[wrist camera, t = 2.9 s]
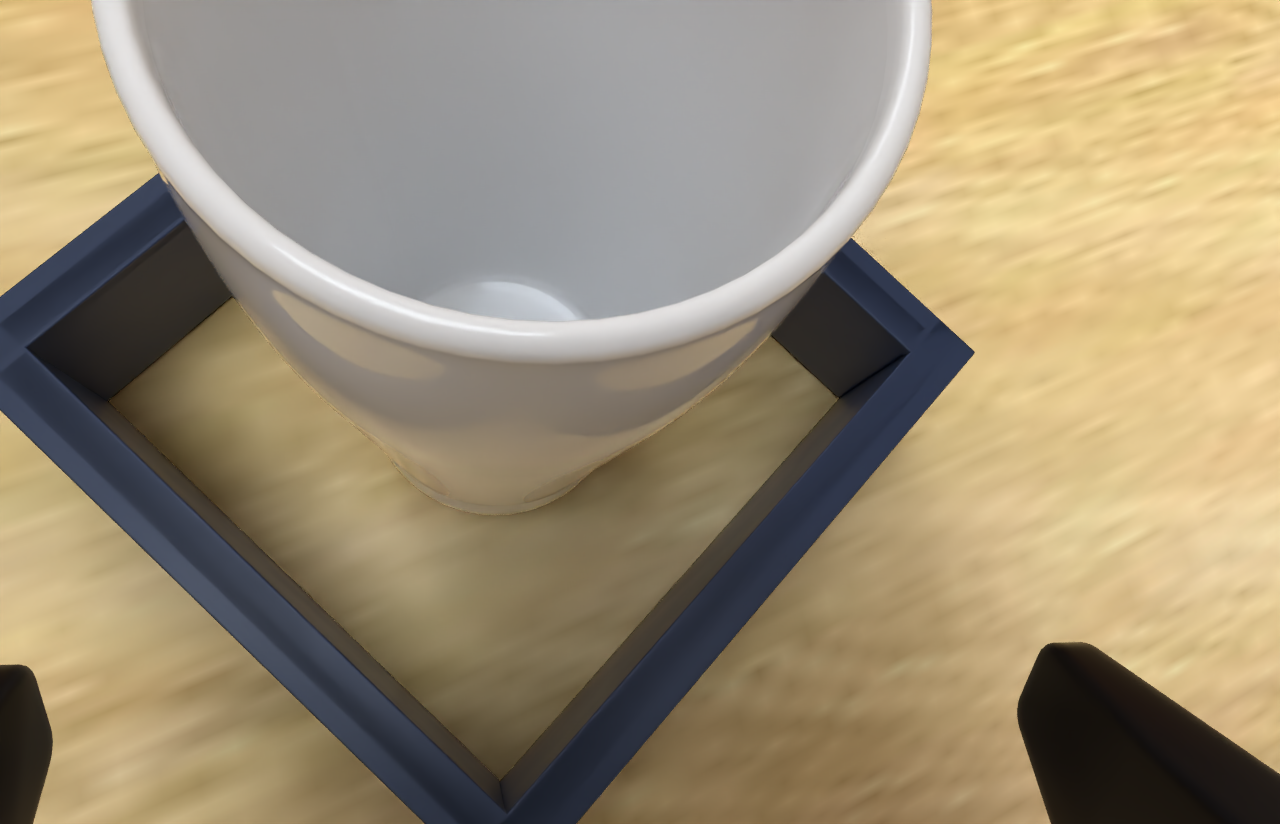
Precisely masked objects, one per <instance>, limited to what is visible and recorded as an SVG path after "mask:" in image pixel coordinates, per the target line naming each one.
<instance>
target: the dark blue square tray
mask: <svg viewBox="0 0 1280 824" xmlns="http://www.w3.org/2000/svg"><path fill="white" fill-rule="evenodd" d="M231 296H232V295H231V293H230V292H229V290H228V289H227V287H226V286H225V284H224V283H223V281H222V280H221V278H220V277H219V275H218V274H217V272H216V270H215V269H214V267H213V266H212V264H211V263H210V261H209V259H208V258H207V256H206V255H205V253H204V252H203V250H202V248H201V247H200V245H199V243H198V242H197V240H196V239H195V237H194V235H193V234H192V232H191V230H190V229H189V227H188V225H187V223H186V222H185V220H184V218H183V216H182V215H181V213H180V211H179V209H178V208H177V206H176V204H175V202H174V200H173V198H172V197H171V195H170V193H169V191H168V189H167V187H166V185H165V183H164V181H163V180H162V178H161V176H160V174H159V173H158V174H157V175H155V176H154V177H153V178H152V179H150V180H149V181H148V182H146V183H145V184H144V185H143V186H141V187H140V188H139V189H138V190H136V191H135V192H134V193H132V194H131V195H130V196H129V197H127V198H126V199H125V200H123V201H122V202H121V203H120V204H118V205H117V206H116V207H115V208H113V209H112V210H111V211H109V212H108V213H107V214H106V215H104V216H103V217H102V218H100V219H99V220H98V221H97V222H95V223H94V224H93V225H91V226H90V227H89V228H88V229H86V230H85V231H84V232H83V233H81V234H80V235H79V236H77V237H76V238H75V239H74V240H72V241H71V242H70V243H68V244H67V245H66V246H65V247H63V248H62V249H61V250H59V251H58V252H57V253H56V254H54V255H53V256H52V257H51V258H49V259H48V260H47V261H45V262H44V263H43V264H42V265H40V266H39V267H38V268H36V269H35V270H34V271H33V272H31V273H30V274H29V275H27V276H26V277H25V278H24V279H22V280H21V281H20V282H19V283H17V284H16V285H15V286H13V287H12V288H11V289H10V290H8V291H7V292H6V293H4V294H3V295H2V296H1V297H0V410H1V411H2V412H3V413H4V414H5V415H6V416H7V417H8V418H9V419H10V420H11V421H12V422H13V423H14V424H15V425H16V426H17V427H18V428H19V429H20V430H21V431H22V432H23V433H24V434H25V435H26V436H27V437H28V438H29V439H30V440H31V441H32V442H33V443H34V444H35V445H36V446H38V447H39V448H40V449H41V450H42V451H43V452H44V453H45V454H46V455H47V456H48V457H49V458H50V459H51V460H52V461H53V462H54V463H55V464H56V465H57V466H58V467H59V468H60V469H61V470H62V471H63V472H64V473H65V474H66V475H67V476H68V477H69V478H70V479H71V480H72V481H73V482H74V483H76V484H77V485H78V486H79V487H80V488H81V489H82V490H83V491H84V492H85V493H86V494H87V495H88V496H89V497H90V498H91V499H92V500H93V501H94V502H95V503H96V504H97V505H98V506H99V507H100V508H101V509H102V510H103V511H104V512H105V513H106V514H107V515H108V516H109V517H110V518H111V519H113V520H114V521H115V522H116V523H117V524H118V525H119V526H120V527H121V528H122V529H123V530H124V531H125V532H126V533H127V534H128V535H129V536H130V537H131V538H132V539H133V540H134V541H135V542H136V543H137V544H138V545H139V546H140V547H141V548H142V549H143V550H144V551H145V552H146V553H147V554H148V555H149V556H151V557H152V558H153V559H154V560H155V561H156V562H157V563H158V564H159V565H160V566H161V567H162V568H163V569H164V570H165V571H166V572H167V573H168V574H169V575H170V576H171V577H172V578H173V579H174V580H175V581H176V582H177V583H178V584H179V585H180V586H181V587H182V588H183V589H184V590H185V591H186V592H187V593H189V594H190V595H191V596H192V597H193V598H194V599H195V600H196V601H197V602H198V603H199V604H200V605H201V606H202V607H203V608H204V609H205V610H206V611H207V612H208V613H209V614H210V615H211V616H212V617H213V618H214V619H215V620H216V621H217V622H218V623H219V624H220V625H221V626H222V627H223V628H224V629H226V630H227V631H228V632H229V633H230V634H231V635H232V636H233V637H234V638H235V639H236V640H237V641H238V642H239V643H240V644H241V645H242V646H243V647H244V648H245V649H246V650H247V651H248V652H249V653H250V654H251V655H252V656H253V657H254V658H255V659H256V660H257V661H258V662H259V663H260V664H261V665H262V666H264V667H265V668H266V669H267V670H268V671H269V672H270V673H271V674H272V675H273V676H274V677H275V678H276V679H277V680H278V681H279V682H280V683H281V684H282V685H283V686H284V687H285V688H286V689H287V690H288V691H289V692H290V693H291V694H292V695H293V696H294V697H295V698H296V699H297V700H298V701H299V702H301V703H302V704H303V705H304V706H305V707H306V708H307V709H308V710H309V711H310V712H311V713H312V714H313V715H314V716H315V717H316V718H317V719H318V720H319V721H320V722H321V723H322V724H323V725H324V726H325V727H326V728H327V729H328V730H329V731H330V732H331V733H332V734H333V735H334V736H335V737H336V738H337V739H339V740H340V741H341V742H342V743H343V744H344V745H345V746H346V747H347V748H348V749H349V750H350V751H351V752H352V753H353V754H354V755H355V756H356V757H357V758H358V759H359V760H360V761H361V762H362V763H363V764H364V765H365V766H366V767H367V768H368V769H369V770H370V771H371V772H372V773H373V774H374V775H375V776H377V777H378V778H379V779H380V780H381V781H382V782H383V783H384V784H385V785H386V786H387V787H388V788H389V789H390V790H391V791H392V792H393V793H394V794H395V795H396V796H397V797H398V798H399V799H400V800H401V801H402V802H403V803H404V804H405V805H406V806H407V807H408V808H409V809H410V810H411V811H412V812H414V813H415V814H416V815H417V816H418V817H419V818H420V819H421V820H422V821H423V822H424V823H425V824H577V822H578V821H579V820H580V819H581V818H582V816H583V815H584V814H585V813H586V812H587V811H588V809H589V808H590V807H591V806H592V805H593V803H594V802H595V801H596V800H597V799H598V798H599V796H600V795H601V794H602V793H603V792H604V790H605V789H606V788H607V787H608V786H609V785H610V783H611V782H612V781H613V780H614V779H615V777H616V776H617V775H618V774H619V773H620V772H621V770H622V769H623V768H624V767H625V766H626V764H627V763H628V762H629V761H630V760H631V759H632V757H633V756H634V755H635V754H636V753H637V751H638V750H639V749H640V748H641V747H642V746H643V744H644V743H645V742H646V741H647V740H648V738H649V737H650V736H651V735H652V734H653V733H654V731H655V730H656V729H657V728H658V727H659V725H660V724H661V723H662V722H663V721H664V720H665V718H666V717H667V716H668V715H669V714H670V712H671V711H672V710H673V709H674V708H675V707H676V705H677V704H678V703H679V702H680V701H681V699H682V698H683V697H684V696H685V695H686V694H687V692H688V691H689V690H690V689H691V688H692V686H693V685H694V684H695V683H696V682H697V681H698V679H699V678H700V677H701V676H702V675H703V673H704V672H705V671H706V670H707V669H708V668H709V666H710V665H711V664H712V663H713V662H714V660H715V659H716V658H717V657H718V656H719V655H720V653H721V652H722V651H723V650H724V649H725V647H726V646H727V645H728V644H729V643H730V642H731V640H732V639H733V638H734V637H735V636H736V634H737V633H738V632H739V631H740V630H741V629H742V627H743V626H744V625H745V624H746V623H747V621H748V620H749V619H750V618H751V617H752V616H753V614H754V613H755V612H756V611H757V610H758V609H759V607H760V606H761V605H762V604H763V603H764V601H765V600H766V599H767V598H768V597H769V596H770V594H771V593H772V592H773V591H774V590H775V588H776V587H777V586H778V585H779V584H780V583H781V581H782V580H783V579H784V578H785V577H786V575H787V574H788V573H789V572H790V571H791V570H792V568H793V567H794V566H795V565H796V564H797V562H798V561H799V560H800V559H801V558H802V557H803V555H804V554H805V553H806V552H807V551H808V549H809V548H810V547H811V546H812V545H813V544H814V542H815V541H816V540H817V539H818V538H819V536H820V535H821V534H822V533H823V532H824V531H825V529H826V528H827V527H828V526H829V525H830V523H831V522H832V521H833V520H834V519H835V518H836V516H837V515H838V514H839V513H840V512H841V510H842V509H843V508H844V507H845V506H846V505H847V503H848V502H849V501H850V500H851V499H852V497H853V496H854V495H855V494H856V493H857V492H858V490H859V489H860V488H861V487H862V486H863V484H864V483H865V482H866V481H867V480H868V479H869V477H870V476H871V475H872V474H873V473H874V471H875V470H876V469H877V468H878V467H879V466H880V464H881V463H882V462H883V461H884V460H885V458H886V457H887V456H888V455H889V454H890V453H891V451H892V450H893V449H894V448H895V447H896V445H897V444H898V443H899V442H900V441H901V440H902V438H903V437H904V436H905V435H906V434H907V432H908V431H909V430H910V429H911V428H912V427H913V425H914V424H915V423H916V422H917V421H918V419H919V418H920V417H921V416H922V415H923V414H924V412H925V411H926V410H927V409H928V408H929V407H930V405H931V404H932V403H933V402H934V401H935V399H936V398H937V397H938V396H939V395H940V394H941V392H942V391H943V390H944V389H945V388H946V386H947V385H948V384H949V383H950V382H951V381H952V379H953V378H954V377H955V376H956V375H957V373H958V372H959V371H960V370H961V369H962V368H963V366H964V365H965V364H966V363H967V362H968V360H969V359H970V358H971V357H972V356H973V355H974V353H975V352H974V351H973V350H972V349H971V348H970V347H969V346H968V345H967V344H966V343H965V342H963V341H962V340H961V339H960V338H959V337H958V336H957V335H956V334H955V333H954V332H953V331H951V330H950V329H949V328H948V327H947V326H946V325H945V324H944V323H943V322H942V321H941V320H940V319H938V318H937V317H936V316H935V315H934V314H933V313H932V312H931V311H930V310H929V309H928V308H927V307H925V306H924V305H923V304H922V303H921V302H920V301H919V300H918V299H917V298H916V297H915V296H914V295H912V294H911V293H910V292H909V291H908V290H907V289H906V288H905V287H904V286H903V285H902V284H901V283H899V282H898V281H897V280H896V279H895V278H894V277H893V276H892V275H891V274H890V273H889V272H888V271H886V270H885V269H884V268H883V267H882V266H881V265H880V264H879V263H878V262H877V261H876V260H875V259H873V258H872V257H871V256H870V255H869V254H868V253H867V252H866V251H865V250H864V249H863V248H862V247H860V246H859V245H858V244H857V243H856V242H855V241H854V240H853V239H852V238H850V239H849V241H848V242H847V243H846V244H845V245H844V247H843V248H842V249H841V251H840V252H839V253H838V255H837V256H836V257H835V259H834V260H833V261H832V262H831V264H830V265H829V266H828V268H827V269H826V270H825V272H824V273H823V274H822V275H821V276H820V278H819V279H818V280H817V281H816V283H815V284H814V285H813V286H812V288H811V289H810V290H809V291H808V293H807V294H806V295H805V296H804V297H803V299H802V300H801V301H800V302H799V304H798V305H797V306H796V307H795V309H794V310H793V311H792V312H791V313H790V315H789V316H788V317H787V318H786V319H785V320H784V322H783V323H782V324H781V325H780V326H779V327H778V328H777V330H776V331H775V332H774V333H773V334H772V336H773V337H774V338H775V339H776V340H777V341H778V342H779V343H780V344H781V345H783V346H784V347H785V348H786V349H787V350H788V351H789V352H790V353H791V354H792V355H793V356H794V357H795V358H796V359H798V360H799V361H800V362H801V363H802V364H803V365H804V366H805V367H806V368H807V369H808V370H809V371H810V372H812V373H813V374H814V375H815V376H816V377H817V378H818V379H819V380H820V381H821V382H822V383H823V384H824V385H825V386H827V387H828V388H829V389H830V390H831V391H832V392H833V393H834V394H835V395H836V396H838V397H840V399H839V400H838V401H837V402H836V403H835V404H834V405H833V406H832V408H831V409H830V410H829V411H828V412H827V413H826V414H825V415H824V417H823V418H822V419H821V420H820V421H819V422H818V423H817V425H816V426H815V427H814V428H813V429H812V430H811V431H810V432H809V434H808V435H807V436H806V437H805V438H804V439H803V440H802V441H801V443H800V444H799V445H798V446H797V447H796V448H795V449H794V450H793V452H792V453H791V454H790V455H789V456H788V457H787V458H786V460H785V461H784V462H783V463H782V464H781V465H780V466H779V467H778V469H777V470H776V471H775V472H774V473H773V474H772V475H771V476H770V478H769V479H768V480H767V481H766V482H765V483H764V484H763V485H762V487H761V488H760V489H759V490H758V491H757V492H756V493H755V495H754V496H753V497H752V498H751V499H750V500H749V501H748V502H747V504H746V505H745V506H744V507H743V508H742V509H741V510H740V511H739V513H738V514H737V515H736V516H735V517H734V518H733V519H732V520H731V522H730V523H729V524H728V525H727V526H726V527H725V528H724V530H723V531H722V532H721V533H720V534H719V535H718V536H717V537H716V539H715V540H714V541H713V542H712V543H711V544H710V545H709V546H708V548H707V549H706V550H705V551H704V552H703V553H702V554H701V555H700V557H699V558H698V559H697V560H696V561H695V562H694V563H693V565H692V566H691V567H690V568H689V569H688V570H687V571H686V572H685V574H684V575H683V576H682V577H681V578H680V579H679V580H678V581H677V583H676V584H675V585H674V586H673V587H672V588H671V589H670V590H669V592H668V593H667V594H666V595H665V596H664V597H663V598H662V600H661V601H660V602H659V603H658V604H657V605H656V606H655V607H654V609H653V610H652V611H651V612H650V613H649V614H648V615H647V616H646V618H645V619H644V620H643V621H642V622H641V623H640V624H639V625H638V627H637V628H636V629H635V630H634V631H633V632H632V633H631V635H630V636H629V637H628V638H627V639H626V640H625V641H624V642H623V644H622V645H621V646H620V647H619V648H618V649H617V650H616V651H615V653H614V654H613V655H612V656H611V657H610V658H609V659H608V660H607V662H606V663H605V664H604V665H603V666H602V667H601V668H600V669H599V671H598V672H597V673H596V674H595V675H594V676H593V677H592V679H591V680H590V681H589V682H588V683H587V684H586V685H585V686H584V688H583V689H582V690H581V691H580V692H579V693H578V694H577V695H576V697H575V698H574V699H573V700H572V701H571V702H570V703H569V704H568V706H567V707H566V708H565V709H564V710H563V711H562V712H561V714H560V715H559V716H558V717H557V718H556V719H555V720H554V721H553V723H552V724H551V725H550V726H549V727H548V728H547V729H546V730H545V732H544V733H543V734H542V735H541V736H540V737H539V738H538V739H537V741H536V742H535V743H534V744H533V745H532V746H531V747H530V749H529V750H528V751H527V752H526V753H525V754H524V755H523V756H522V758H521V759H520V760H519V761H518V762H517V763H516V764H515V765H514V767H513V768H512V769H511V770H510V771H509V772H508V773H507V774H506V776H505V777H504V778H503V779H502V780H501V781H500V782H499V779H498V778H497V777H496V776H495V775H494V774H493V773H492V772H491V771H490V770H488V769H487V768H486V767H485V766H484V765H483V764H482V763H481V762H480V761H479V760H478V759H477V758H476V757H475V756H474V755H473V754H472V753H471V752H470V751H469V750H468V749H467V748H466V747H465V746H464V745H463V744H462V743H461V742H460V741H459V740H457V739H456V738H455V737H454V736H453V735H452V734H451V733H450V732H449V731H448V730H447V729H446V728H445V727H444V726H443V725H442V724H441V723H440V722H439V721H438V720H437V719H436V718H435V717H434V716H433V715H432V714H431V713H430V712H429V711H428V710H426V709H425V708H424V707H423V706H422V705H421V704H420V703H419V702H418V701H417V700H416V699H415V698H414V697H413V696H412V695H411V694H410V693H409V692H408V691H407V690H406V689H405V688H404V687H403V686H402V685H401V684H400V683H399V682H398V681H397V680H395V679H394V678H393V677H392V676H391V675H390V674H389V673H388V672H387V671H386V670H385V669H384V668H383V667H382V666H381V665H380V664H379V663H378V662H377V661H376V660H375V659H374V658H373V657H372V656H371V655H370V654H369V653H368V652H367V651H365V650H364V649H363V648H362V647H361V646H360V645H359V644H358V643H357V642H356V641H355V640H354V639H353V638H352V637H351V636H350V635H349V634H348V633H347V632H346V631H345V630H344V629H343V628H342V627H341V626H340V625H339V624H338V623H337V622H336V621H334V620H333V619H332V618H331V617H330V616H329V615H328V614H327V613H326V612H325V611H324V610H323V609H322V608H321V607H320V606H319V605H318V604H317V603H316V602H315V601H314V600H313V599H312V598H311V597H310V596H309V595H308V594H307V593H306V592H305V591H303V590H302V589H301V588H300V587H299V586H298V585H297V584H296V583H295V582H294V581H293V580H292V579H291V578H290V577H289V576H288V575H287V574H286V573H285V572H284V571H283V570H282V569H281V568H280V567H279V566H278V565H277V564H276V563H275V562H273V561H272V560H271V559H270V558H269V557H268V556H267V555H266V554H265V553H264V552H263V551H262V550H261V549H260V548H259V547H258V546H257V545H256V544H255V543H254V542H253V541H252V540H251V539H250V538H249V537H248V536H247V535H246V534H245V533H244V532H242V531H241V530H240V529H239V528H238V527H237V526H236V525H235V524H234V523H233V522H232V521H231V520H230V519H229V518H228V517H227V516H226V515H225V514H224V513H223V512H222V511H221V510H220V509H219V508H218V507H217V506H216V505H215V504H214V503H213V502H211V501H210V500H209V499H208V498H207V497H206V496H205V495H204V494H203V493H202V492H201V491H200V490H199V489H198V488H197V487H196V486H195V485H194V484H193V483H192V482H191V481H190V480H189V479H188V478H187V477H186V476H185V475H184V474H183V473H181V472H180V471H179V470H178V469H177V468H176V467H175V466H174V465H173V464H172V463H171V462H170V461H169V460H168V459H167V458H166V457H165V456H164V455H163V454H162V453H161V452H160V451H159V450H158V449H157V448H156V447H155V446H154V445H153V444H152V443H150V442H149V441H148V440H147V439H146V438H145V437H144V436H143V435H142V434H141V433H140V432H139V431H138V430H137V429H136V428H135V427H134V426H133V425H132V424H131V423H130V422H129V421H128V420H127V419H126V418H125V417H124V416H123V415H122V414H121V413H119V412H118V411H117V410H116V409H115V408H114V407H113V406H112V405H111V404H110V403H109V402H107V401H108V400H109V399H111V398H112V397H113V396H114V395H115V394H116V393H118V392H119V391H120V390H121V389H122V388H124V387H125V386H126V385H127V384H128V383H129V382H131V381H132V380H133V379H134V378H135V377H137V376H138V375H139V374H140V373H141V372H142V371H144V370H145V369H146V368H147V367H148V366H150V365H151V364H152V363H153V362H154V361H155V360H157V359H158V358H159V357H160V356H161V355H163V354H164V353H165V352H166V351H167V350H169V349H170V348H171V347H172V346H173V345H174V344H176V343H177V342H178V341H179V340H180V339H182V338H183V337H184V336H185V335H186V334H187V333H189V332H190V331H191V330H192V329H193V328H195V327H196V326H197V325H198V324H199V323H200V322H202V321H203V320H204V319H205V318H206V317H208V316H209V315H210V314H211V313H212V312H213V311H215V310H216V309H217V308H218V307H219V306H221V305H222V304H223V303H224V302H225V301H226V300H228V299H229V298H230V297H231Z"/></svg>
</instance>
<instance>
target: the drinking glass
mask: <svg viewBox="0 0 1280 824" xmlns="http://www.w3.org/2000/svg"><path fill="white" fill-rule="evenodd" d="M91 3H92V12H93V16H94V21H95V25H96V29H97V33H98V38H99V42H100V46H101V50H102V54H103V57H104V60H105V62H106V65H107V68H108V71H109V74H110V76H111V79H112V82H113V85H114V87H115V90H116V93H117V95H118V97H119V99H120V101H121V103H122V105H123V107H124V109H125V111H126V113H127V115H128V118H129V120H130V122H131V124H132V126H133V128H134V130H135V132H136V133H137V135H138V137H139V138H140V140H141V141H142V143H143V145H144V146H145V148H146V149H147V151H148V153H149V155H150V156H151V158H152V160H153V162H154V164H155V166H156V168H157V170H158V172H159V174H160V176H161V178H162V180H163V181H164V183H165V185H166V187H167V189H168V191H169V193H170V195H171V197H172V198H173V200H174V202H175V204H176V206H177V208H178V209H179V211H180V213H181V215H182V216H183V218H184V220H185V222H186V223H187V225H188V227H189V229H190V230H191V232H192V234H193V235H194V237H195V239H196V240H197V242H198V243H199V245H200V247H201V248H202V250H203V252H204V253H205V255H206V256H207V258H208V259H209V261H210V263H211V264H212V266H213V267H214V269H215V270H216V272H217V274H218V275H219V277H220V278H221V280H222V281H223V283H224V284H225V286H226V287H227V289H228V290H229V292H230V293H231V295H232V296H233V298H234V299H235V301H236V302H237V303H238V305H239V306H240V307H241V309H242V310H243V312H244V313H245V314H246V316H247V317H248V318H249V320H250V321H251V322H252V323H253V325H254V326H255V327H256V328H257V330H258V331H259V332H260V333H261V335H262V336H263V337H264V338H265V340H266V341H267V342H268V343H269V345H270V346H271V347H272V348H273V349H274V351H275V352H276V353H277V354H278V355H279V357H280V358H281V359H282V360H283V361H284V362H285V363H286V364H287V365H288V366H289V367H290V368H291V369H292V370H293V371H294V372H295V373H296V374H297V375H298V377H299V378H300V379H301V380H302V381H303V382H304V383H305V384H306V385H307V386H308V387H309V388H310V389H311V390H312V391H313V392H314V393H315V394H316V395H318V396H319V397H320V398H321V399H322V400H323V401H324V402H325V403H326V404H328V405H329V406H330V407H331V408H332V409H333V410H335V411H336V412H337V413H338V414H339V415H341V416H342V417H343V418H344V419H345V420H347V421H348V422H349V423H350V424H351V425H353V426H354V427H355V428H356V429H358V430H359V431H360V432H361V433H362V434H364V435H365V436H366V437H367V438H368V439H370V440H371V441H372V442H373V443H374V444H376V445H377V446H378V447H379V448H380V449H381V450H382V451H384V452H385V453H386V454H387V456H388V458H389V459H390V461H391V462H392V464H393V465H394V466H395V467H396V469H397V470H398V471H399V472H400V473H401V474H402V475H403V476H404V477H405V478H406V479H407V480H408V481H409V482H410V483H411V484H412V485H413V486H415V487H416V488H417V489H418V490H420V491H421V492H423V493H424V494H425V495H427V496H428V497H430V498H432V499H434V500H436V501H438V502H439V503H442V504H444V505H446V506H449V507H451V508H454V509H458V510H461V511H464V512H469V513H474V514H482V515H509V514H516V513H521V512H526V511H530V510H533V509H536V508H539V507H542V506H544V505H547V504H549V503H551V502H553V501H555V500H557V499H559V498H560V497H562V496H563V495H565V494H566V493H568V492H570V491H571V490H572V489H573V488H575V487H576V486H577V485H578V484H580V483H581V482H582V481H583V480H584V479H585V478H586V477H587V476H588V475H589V474H590V472H591V471H593V470H595V469H596V468H598V467H600V466H601V465H603V464H605V463H606V462H608V461H610V460H612V459H613V458H615V457H617V456H619V455H620V454H622V453H624V452H626V451H627V450H629V449H631V448H633V447H634V446H636V445H638V444H640V443H641V442H643V441H644V440H646V439H648V438H649V437H651V436H652V435H654V434H656V433H657V432H659V431H660V430H662V429H663V428H665V427H666V426H668V425H669V424H671V423H673V422H674V421H676V420H677V419H679V418H680V417H681V416H683V415H684V414H685V413H687V412H688V411H689V410H691V409H692V408H693V407H694V406H696V405H697V404H698V403H699V402H701V401H702V400H703V399H704V398H706V397H707V396H708V395H709V394H711V393H712V392H713V391H714V390H715V389H717V388H718V387H719V386H720V385H721V384H722V383H724V382H725V381H726V380H727V379H728V378H729V377H730V376H731V375H732V374H733V373H734V372H735V371H736V370H737V369H738V368H739V367H740V366H741V365H742V364H743V363H744V362H745V361H746V360H747V359H748V358H749V357H750V356H751V355H752V354H753V353H754V352H755V351H756V350H757V349H758V348H760V347H761V345H762V344H763V343H764V342H765V341H766V340H767V339H768V338H769V337H770V336H771V335H772V334H773V333H774V332H775V331H776V330H777V328H778V327H779V326H780V325H781V324H782V323H783V322H784V320H785V319H786V318H787V317H788V316H789V315H790V313H791V312H792V311H793V310H794V309H795V307H796V306H797V305H798V304H799V302H800V301H801V300H802V299H803V297H804V296H805V295H806V294H807V293H808V291H809V290H810V289H811V288H812V286H813V285H814V284H815V283H816V281H817V280H818V279H819V278H820V276H821V275H822V274H823V273H824V272H825V270H826V269H827V268H828V266H829V265H830V264H831V262H832V261H833V260H834V259H835V257H836V256H837V255H838V253H839V252H840V251H841V249H842V248H843V247H844V245H845V244H846V243H847V242H848V241H849V239H850V238H851V237H852V236H853V234H854V233H855V232H856V231H857V229H858V228H859V227H860V226H861V225H862V223H863V222H864V221H865V220H866V218H867V217H868V216H869V215H870V213H871V212H872V210H873V209H874V207H875V206H876V204H877V203H878V201H879V200H880V198H881V196H882V195H883V193H884V192H885V190H886V189H887V187H888V185H889V184H890V182H891V181H892V178H893V176H894V174H895V172H896V170H897V168H898V166H899V164H900V162H901V160H902V158H903V156H904V154H905V152H906V150H907V148H908V145H909V142H910V139H911V136H912V134H913V131H914V128H915V125H916V123H917V120H918V117H919V114H920V110H921V105H922V101H923V97H924V93H925V88H926V84H927V80H928V72H929V64H930V55H931V47H932V3H931V0H91Z"/></svg>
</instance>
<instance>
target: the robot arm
mask: <svg viewBox="0 0 1280 824" xmlns="http://www.w3.org/2000/svg"><path fill="white" fill-rule="evenodd" d="M1017 717H1018V724H1019V728H1020V731H1021V734H1022V737H1023V740H1024V743H1025V746H1026V749H1027V752H1028V755H1029V758H1030V762H1031V765H1032V768H1033V771H1034V774H1035V777H1036V780H1037V783H1038V786H1039V789H1040V792H1041V795H1042V798H1043V801H1044V804H1045V807H1046V810H1047V813H1048V816H1049V819H1050V822H1051V824H1280V774H1279V773H1277V772H1276V771H1274V770H1273V769H1271V768H1270V767H1269V766H1267V765H1266V764H1264V763H1263V762H1261V761H1260V760H1258V759H1257V758H1255V757H1254V756H1253V755H1251V754H1250V753H1248V752H1247V751H1245V750H1244V749H1242V748H1241V747H1240V746H1238V745H1237V744H1235V743H1234V742H1232V741H1231V740H1229V739H1228V738H1226V737H1225V736H1224V735H1222V734H1221V733H1219V732H1218V731H1216V730H1215V729H1213V728H1212V727H1211V726H1209V725H1208V724H1206V723H1205V722H1203V721H1202V720H1200V719H1199V718H1198V717H1196V716H1195V715H1193V714H1192V713H1190V712H1189V711H1187V710H1186V709H1184V708H1183V707H1182V706H1180V705H1179V704H1177V703H1176V702H1174V701H1173V700H1171V699H1170V698H1169V697H1167V696H1166V695H1164V694H1163V693H1161V692H1160V691H1158V690H1157V689H1155V688H1154V687H1153V686H1151V685H1150V684H1148V683H1147V682H1145V681H1144V680H1142V679H1141V678H1140V677H1138V676H1137V675H1135V674H1134V673H1132V672H1131V671H1129V670H1128V669H1127V668H1125V667H1124V666H1122V665H1121V664H1119V663H1118V662H1116V661H1115V660H1113V659H1112V658H1111V657H1109V656H1108V655H1106V654H1105V653H1103V652H1102V651H1100V650H1099V649H1097V648H1096V647H1094V646H1093V645H1090V644H1088V643H1083V642H1071V643H1050V644H1047V645H1046V646H1045V647H1044V648H1042V649H1041V651H1040V652H1039V654H1038V656H1037V659H1036V661H1035V663H1034V666H1033V668H1032V670H1031V673H1030V675H1029V677H1028V680H1027V682H1026V684H1025V686H1024V689H1023V691H1022V693H1021V696H1020V698H1019V701H1018V708H1017ZM52 746H53V739H52V731H51V727H50V724H49V720H48V717H47V714H46V710H45V707H44V704H43V700H42V697H41V694H40V691H39V687H38V684H37V681H36V678H35V676H34V673H33V672H32V671H31V670H30V668H28V667H27V666H23V665H0V824H33V822H34V818H35V814H36V811H37V807H38V804H39V800H40V797H41V793H42V790H43V786H44V782H45V779H46V775H47V772H48V768H49V765H50V760H51V755H52Z"/></svg>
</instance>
